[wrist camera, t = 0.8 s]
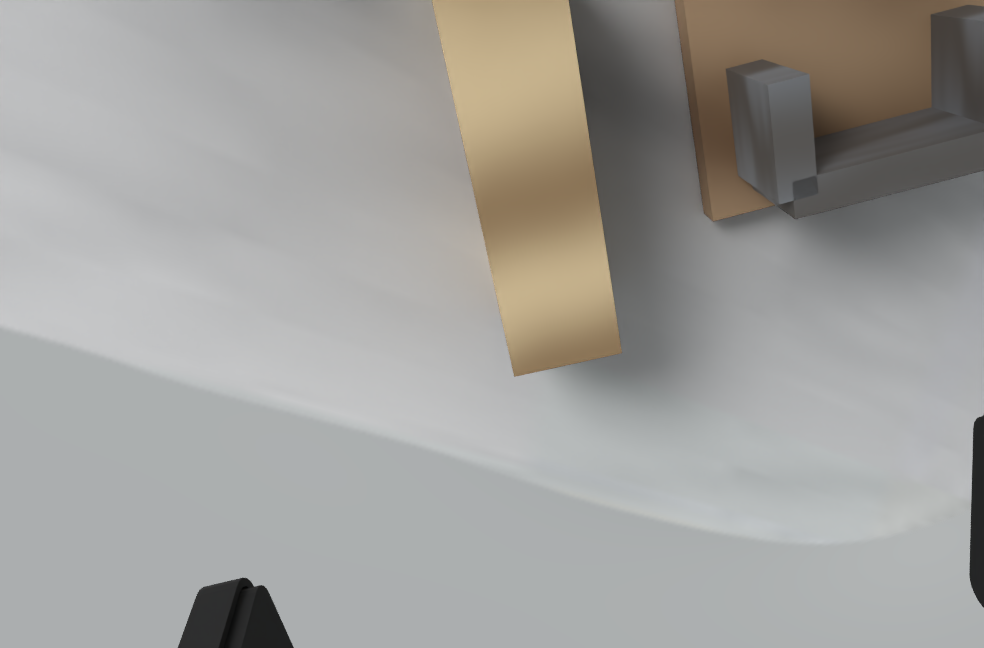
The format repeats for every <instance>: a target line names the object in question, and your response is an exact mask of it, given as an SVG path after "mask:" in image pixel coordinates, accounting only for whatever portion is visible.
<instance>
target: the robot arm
mask: <svg viewBox="0 0 984 648" xmlns="http://www.w3.org/2000/svg"><path fill="white" fill-rule="evenodd" d="M970 541H971V542H970V581H971V585H972V588H973V591H974V593H975V595H976V597H977V599H978V601H979V602H980V603H981V605H982V606H983V607H984V416H982V417H979V418H977V419H976V421H975V422H974V428H973V465H972V502H971V540H970ZM178 648H294V647H293V645H292V643H291V641H290V639H289V636H288V634H287V632H286V630H285V628H284V625H283V623H282V621H281V619H280V616H279V614H278V612H277V610H276V607H275V605H274V603H273V601H272V599H271V596H270V594H269V592H268V590H267V589H266V588H265V587H264V586H262V585H261V586H256V587H254V586H253V584H252V583H251V581H250V580H248V579H247V578H240V579H236V580H231V581H227V582H223V583H219V584H214V585H211V586H206V587H203V588H202V589H201V590H199V592H198V594H197V596H196V599H195V602H194V604H193V608H192V610H191V613H190V615H189V618H188V621H187V624H186V627H185V630H184V632H183V635H182V638H181V641H180V644H179V646H178Z"/></svg>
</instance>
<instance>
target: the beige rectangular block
mask: <svg viewBox="0 0 984 648" xmlns="http://www.w3.org/2000/svg"><path fill="white" fill-rule="evenodd" d="M432 3H433V8H434V12H435V17H436V21H437V26H438V31H439V35H440V40H441V44H442V49H443V53H444V58H445V63H446V67H447V72H448V76H449V81H450V85H451V90H452V95H453V99H454V104H455V108H456V113H457V117H458V122H459V127H460V131H461V136H462V140H463V145H464V149H465V154H466V159H467V163H468V168H469V172H470V177H471V181H472V186H473V191H474V195H475V200H476V204H477V209H478V213H479V218H480V223H481V227H482V232H483V236H484V241H485V246H486V250H487V255H488V259H489V264H490V268H491V273H492V278H493V282H494V287H495V291H496V296H497V300H498V305H499V310H500V314H501V319H502V323H503V328H504V332H505V337H506V341H507V346H508V350H509V355H510V359H511V364H512V368H513V373H514V377H515V376H520V375H524V374H529V373H533V372H538V371H543V370H547V369H552V368H556V367H561V366H565V365H570V364H575V363H579V362H584V361H588V360H593V359H597V358H602V357H607V356H611V355H616V354H620V353H622V351H621V344H620V337H619V331H618V324H617V318H616V311H615V304H614V298H613V291H612V285H611V278H610V271H609V265H608V258H607V252H606V245H605V238H604V232H603V225H602V218H601V212H600V205H599V199H598V192H597V185H596V179H595V172H594V166H593V159H592V152H591V146H590V139H589V132H588V126H587V119H586V113H585V106H584V99H583V93H582V86H581V80H580V73H579V66H578V60H577V53H576V47H575V40H574V33H573V27H572V20H571V13H570V7H569V0H432Z"/></svg>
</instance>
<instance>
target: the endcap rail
mask: <svg viewBox="0 0 984 648" xmlns="http://www.w3.org/2000/svg"><path fill="white" fill-rule="evenodd" d="M675 7H676V14H677V21H678V28H679V36H680V43H681V50H682V57H683V65H684V72H685V79H686V86H687V94H688V101H689V108H690V116H691V123H692V130H693V137H694V145H695V152H696V159H697V166H698V174H699V181H700V188H701V195H702V203H703V210H704V214H706V215H707V216H708V217H709V218H710V219H711V220H712V221H717V220H720V219H724V218H728V217H732V216H736V215H740V214H744V213H747V212H751V211H755V210H759V209H763V208H767V207H770V206H774V205H776V206H778V207H779V208H780V209H782V210H783V211H785V212H786V213H787V214H789V215H790V216H792V217H793V218H794V219H798V218H802V217H806V216H810V215H814V214H817V213H821V212H825V211H829V210H833V209H837V208H841V207H844V206H848V205H852V204H856V203H860V202H864V201H868V200H871V199H875V198H879V197H883V196H887V195H891V194H895V193H898V192H902V191H906V190H910V189H914V188H918V187H922V186H926V185H929V184H933V183H937V182H941V181H945V180H949V179H953V178H956V177H960V176H964V175H968V174H972V173H976V172H980V171H983V170H984V0H675Z"/></svg>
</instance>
